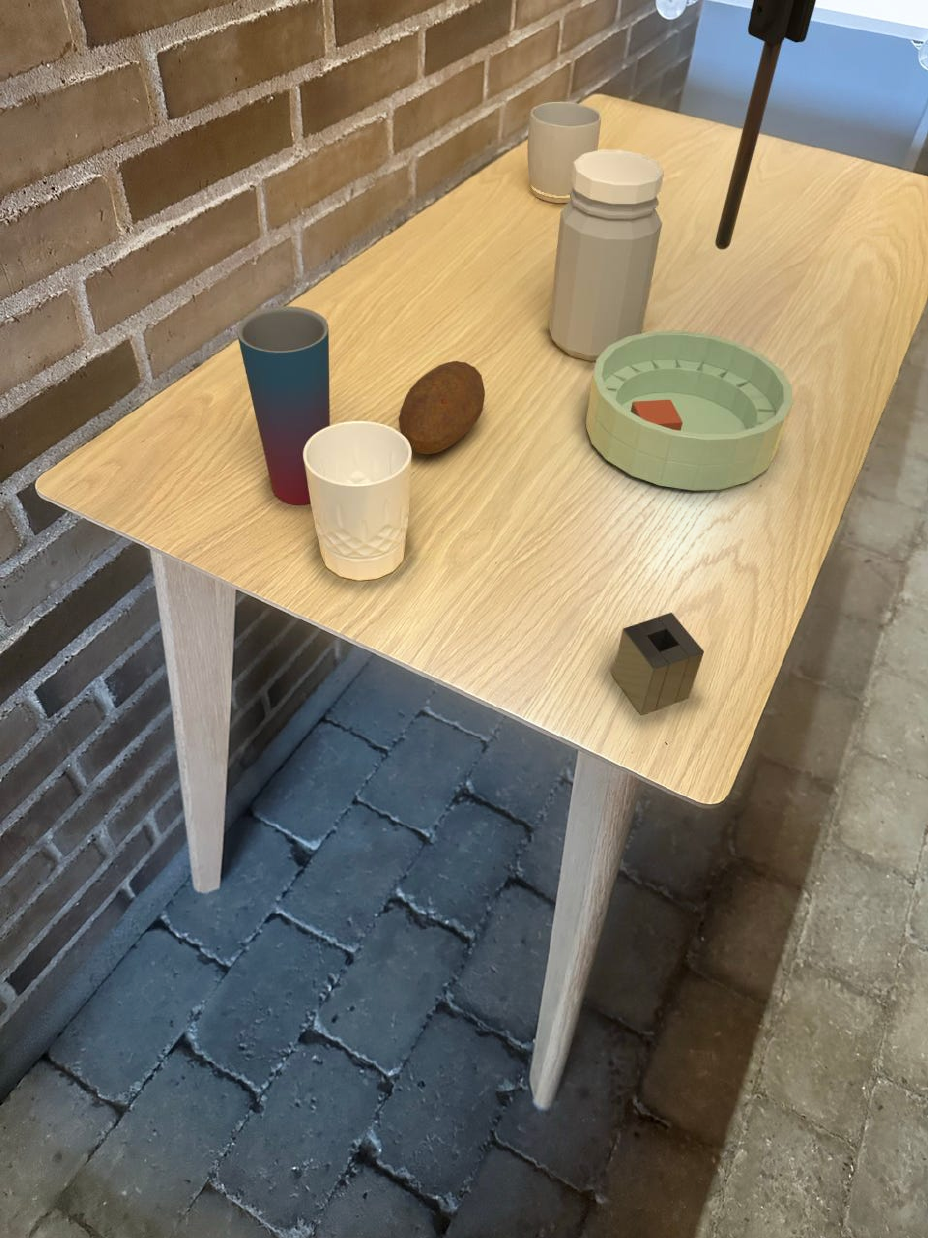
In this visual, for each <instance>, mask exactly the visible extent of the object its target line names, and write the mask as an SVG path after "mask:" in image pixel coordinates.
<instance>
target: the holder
mask: <svg viewBox="0 0 928 1238" xmlns="http://www.w3.org/2000/svg"><path fill="white" fill-rule="evenodd" d="M620 635H621V636H620V639H619V642H618V643H619V644H618V647H617V648H618V649H617V653H616V657H615V661H614V665H613V669H612V677H613V679H614V680H615V682H616V683H617V684H618V685H619V687H620V688H621V690H622V691H623V693H624V694H625V695H626V697H627V698H628V699H629V701H630V702H631V704H632V705H633V706H634V707H635V709H636V710H637V712H638V713H639V715H640V716H644V715H646V714H648V713H652V712H655V711H658V710H660V709H663V708H666V707H669V706H671V705H675V704H677V703H679V702H682V701H685V700H687V699H689V698H690V695H691V693H692V690H693V687H694V684H695V681H696V678H697V674H698V672H699V669H700V665H701V664H702V663H701V662H702V659H703V657H704V654H705V651H704V650H703V649H702V647H701V645H699V644H698V642H697V641H696V640H695V639H694V638H693V636H692V635H691V634H690V633H689V631H688V630H687V629H686V628H685V627H684V625H683V624H682V623H681V621H680V620H679V619H678V618H677V617H676V616H675V614H674V613H673V612H668V613H665V614H663V615H659V616H658V617H656V616H655V617H653V618H650V619H647V620H644V621H641V622H638V623H635V624H631V625H629V626H626V627H623V628H622V631H621V634H620Z"/></svg>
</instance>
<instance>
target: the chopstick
mask: <svg viewBox="0 0 928 1238" xmlns="http://www.w3.org/2000/svg"><path fill="white" fill-rule="evenodd" d="M763 42H764V41H763ZM783 42H784V40H783V41H782V43H781V44H779V45H771V44H769V43H766V42H764V43H763V47H762V50H761V54H760V59H759V63H758V67H757V71H756V74H755V78H754V82H753V87H752V90H751V91H752V92H751V95H750V99H749V103H748V108H747V111H746V115H745V119H744V123H743V127H742V131H741V134H740V140H739V143H738V147H737V151H736V156H735V159H734V164H733V169H732V172H731V175H730V179H729V183H728V188H727V192H726V196H725V200H724V204H723V208H722V212H721V216H720V220H719V225H718V227H717V232H716V236H715V240H714V244H715V247H716V248H717V249H719V250H722V251H723V250H726V249H728V248H729V246H730V245H731V243H732V239H733V235H734V231H735V227H736V223H737V219H738V216H739V212H740V208H741V204H742V200H743V196H744V192H745V189H746V185H747V181H748V177H749V173H750V169H751V166H752V161H753V158H754V154H755V150H756V146H757V142H758V138H759V134H760V132H761V127H762V123H763V119H764V116H765V112H766V108H767V104H768V100H769V96H770V92H771V90H772V89H771V88H772V85H773V81H774V76H775V74H776V73H775V72H776V69H777V65H778V61H779V58H780V54H781V51H782V46H783Z"/></svg>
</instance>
